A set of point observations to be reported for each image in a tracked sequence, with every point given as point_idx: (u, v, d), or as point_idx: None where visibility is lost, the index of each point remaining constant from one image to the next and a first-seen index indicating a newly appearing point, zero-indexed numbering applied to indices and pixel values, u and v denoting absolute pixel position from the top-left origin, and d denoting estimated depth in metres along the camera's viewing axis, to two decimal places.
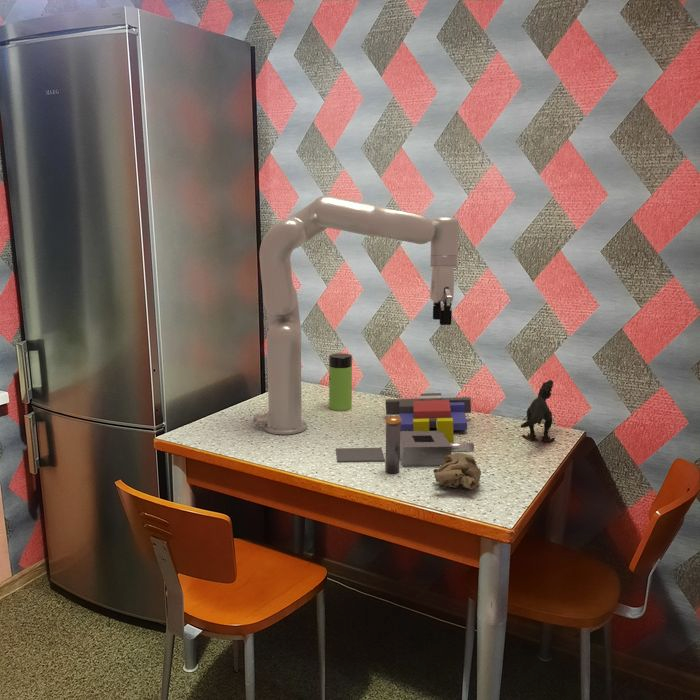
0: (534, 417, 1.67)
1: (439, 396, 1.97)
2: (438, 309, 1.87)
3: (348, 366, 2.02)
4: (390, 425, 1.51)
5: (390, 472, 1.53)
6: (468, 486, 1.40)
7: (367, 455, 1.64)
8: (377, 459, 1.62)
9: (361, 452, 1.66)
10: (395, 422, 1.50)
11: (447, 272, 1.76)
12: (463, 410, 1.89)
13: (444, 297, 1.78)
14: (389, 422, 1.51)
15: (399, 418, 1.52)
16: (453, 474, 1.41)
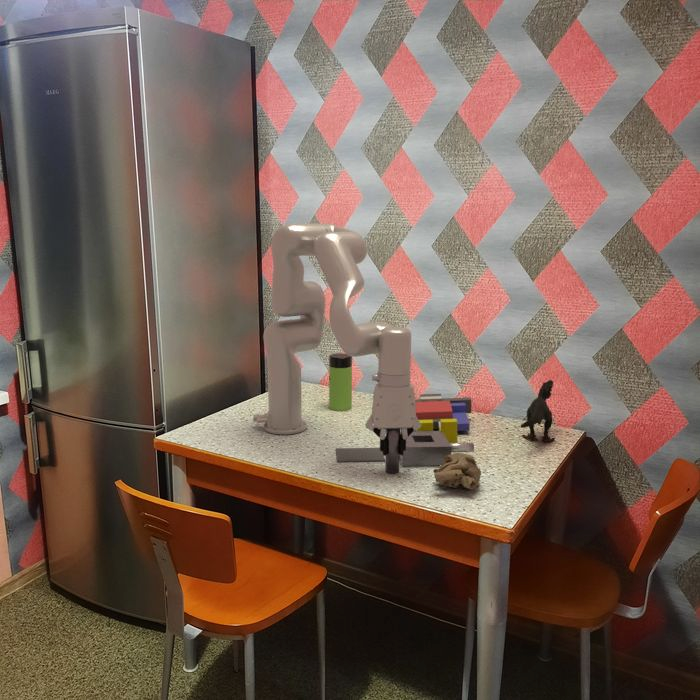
0: (534, 417, 1.67)
1: (439, 397, 1.96)
2: None
3: (348, 366, 2.02)
4: None
5: (390, 472, 1.53)
6: (468, 486, 1.40)
7: (367, 455, 1.64)
8: (377, 459, 1.62)
9: (361, 452, 1.66)
10: None
11: None
12: (464, 410, 1.89)
13: None
14: None
15: None
16: (453, 474, 1.41)
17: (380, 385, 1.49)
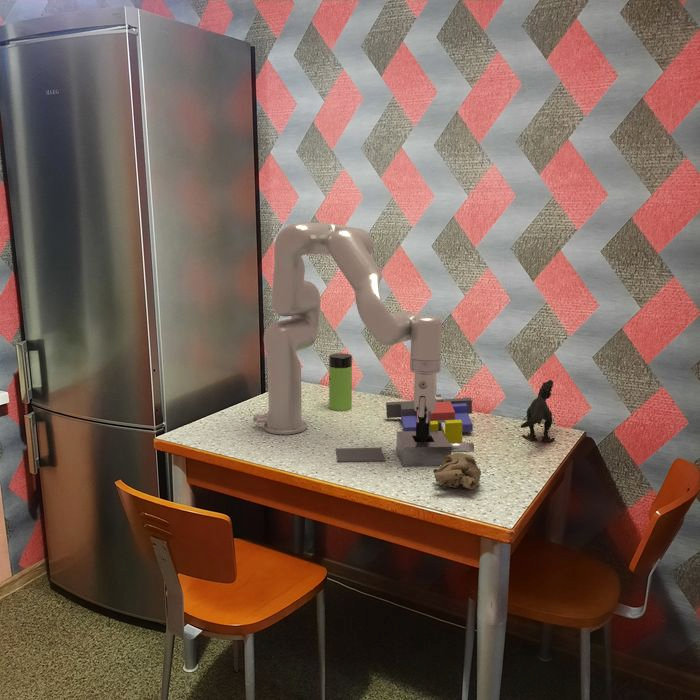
0: (534, 417, 1.67)
1: (439, 397, 1.95)
2: None
3: (348, 366, 2.02)
4: None
5: None
6: (468, 486, 1.40)
7: (367, 455, 1.64)
8: (377, 459, 1.62)
9: (361, 452, 1.66)
10: None
11: None
12: (466, 411, 1.88)
13: None
14: None
15: None
16: (453, 474, 1.41)
17: (429, 372, 1.56)
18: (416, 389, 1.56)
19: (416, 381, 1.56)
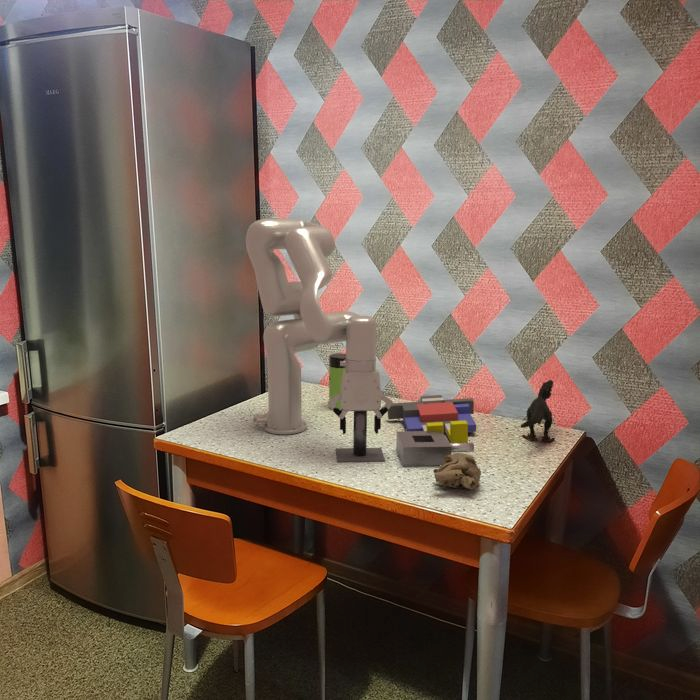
0: (534, 417, 1.67)
1: (441, 398, 1.95)
2: None
3: None
4: None
5: (357, 454, 1.63)
6: (468, 486, 1.40)
7: (367, 455, 1.64)
8: (377, 459, 1.62)
9: None
10: None
11: None
12: (468, 412, 1.88)
13: None
14: None
15: None
16: (453, 474, 1.41)
17: (347, 370, 1.59)
18: None
19: None
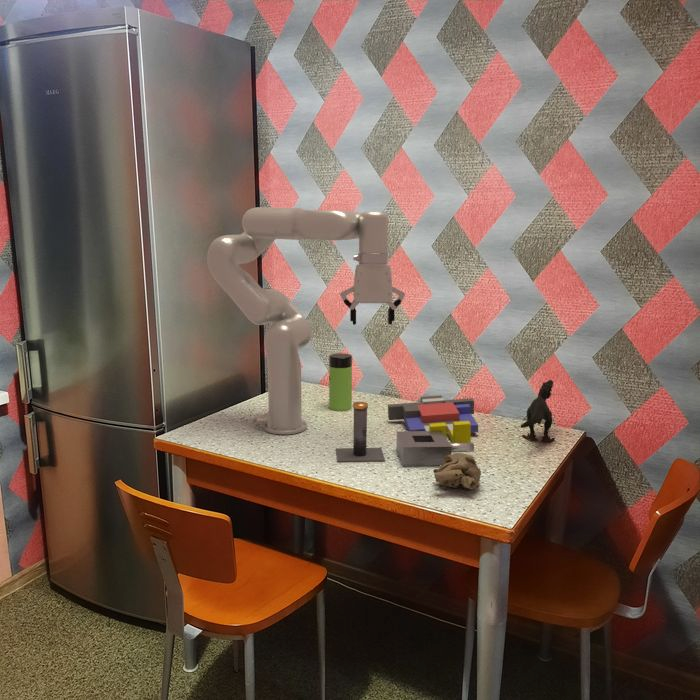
0: (534, 417, 1.67)
1: (441, 399, 1.94)
2: None
3: (348, 366, 2.02)
4: (357, 410, 1.61)
5: (357, 454, 1.63)
6: (468, 486, 1.40)
7: (367, 455, 1.64)
8: (377, 459, 1.62)
9: None
10: (362, 407, 1.61)
11: None
12: (469, 412, 1.88)
13: None
14: (356, 407, 1.61)
15: (366, 404, 1.62)
16: (453, 474, 1.41)
17: (360, 263, 1.67)
18: None
19: None
